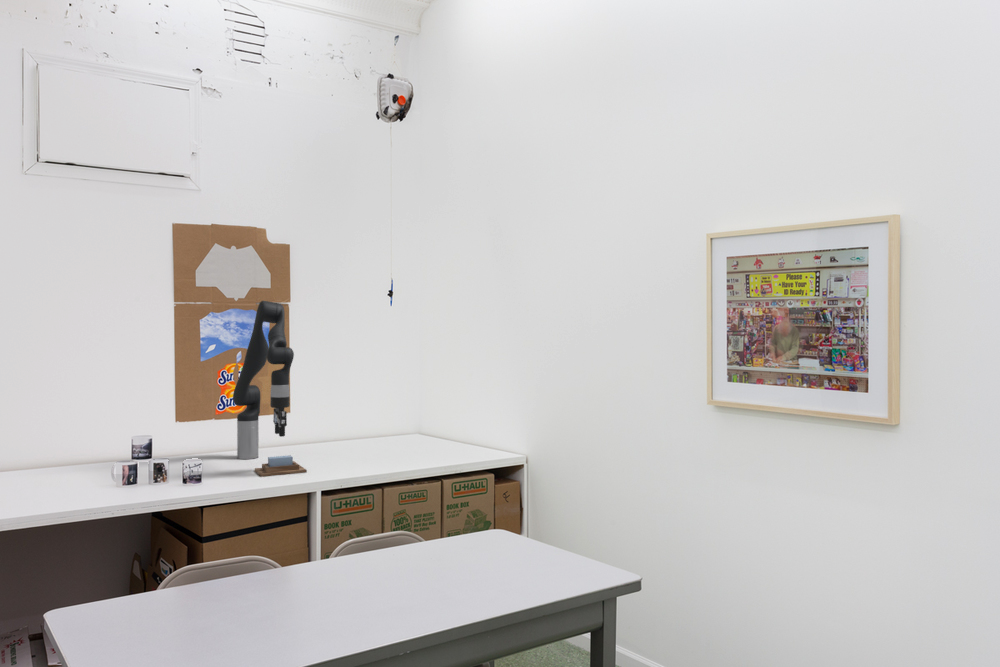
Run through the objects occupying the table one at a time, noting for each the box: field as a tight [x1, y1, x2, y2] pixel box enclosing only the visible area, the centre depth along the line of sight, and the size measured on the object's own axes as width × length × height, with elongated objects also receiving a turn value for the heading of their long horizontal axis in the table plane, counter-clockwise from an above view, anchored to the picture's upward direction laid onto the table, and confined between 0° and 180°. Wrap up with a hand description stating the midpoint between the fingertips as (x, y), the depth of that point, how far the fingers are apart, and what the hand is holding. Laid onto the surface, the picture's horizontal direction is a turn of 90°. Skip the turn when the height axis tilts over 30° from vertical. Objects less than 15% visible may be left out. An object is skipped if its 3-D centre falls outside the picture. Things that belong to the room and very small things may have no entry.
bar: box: [267, 454, 294, 467], centre depth 290 cm, size 9×4×5 cm, turn 119°
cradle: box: [254, 460, 307, 478], centre depth 290 cm, size 14×18×3 cm
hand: (279, 435), depth 290 cm, fingers open, 8 cm apart
